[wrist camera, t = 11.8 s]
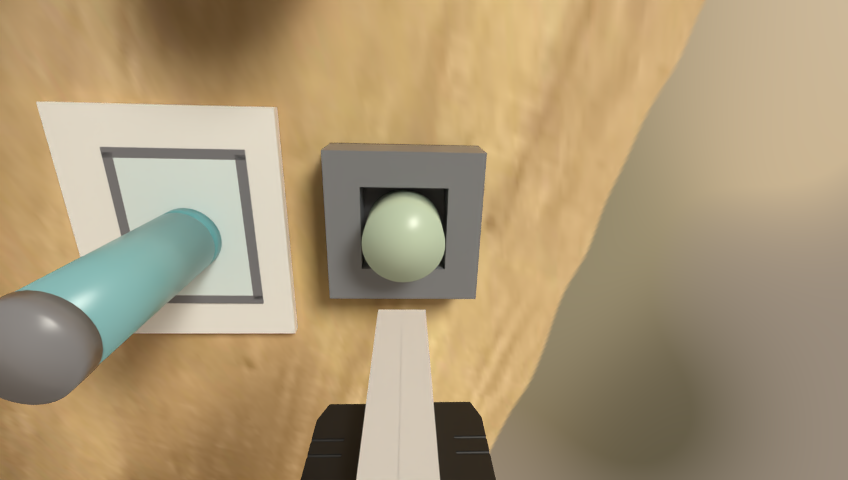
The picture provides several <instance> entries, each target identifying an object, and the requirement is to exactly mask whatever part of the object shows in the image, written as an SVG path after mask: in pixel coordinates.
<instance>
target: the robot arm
mask: <svg viewBox="0 0 848 480" xmlns="http://www.w3.org/2000/svg"><path fill="white" fill-rule="evenodd" d="M301 480H496V478H495V475H494V470H493V465H492V461H491V456H490V454H489V448H488V443H487V439H486V435H485V430H484V426H483V421H482V417H481V416H480V415H479V413H478V412H477V411H476V409H475V408H474V407H473V405H472V404H471V403H470V402H433V391H432V379H431V368H430V356H429V344H428V332H427V321H426V310H378V316H377V323H376V331H375V339H374V346H373V354H372V362H371V370H370V377H369V385H368V393H367V401H366V404H330V405H329V406H328V407H327V408H326V410H325V411H324V412H323V413H322V415H321V416H320V417H319V418H318V420H317V422H316V426H315V429H314V433H313V437H312V442H311V444H310V448H309V451H308V457H307V459H306V462H305V466H304V470H303V474H302V477H301Z"/></svg>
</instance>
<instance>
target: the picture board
mask: <svg viewBox="0 0 848 480" xmlns="http://www.w3.org/2000/svg"><path fill="white" fill-rule="evenodd" d="M36 103H37V107H38V110H39V114H40V117H41V121H42V124H43V128H44V131H45V135H46V138H47V142H48V145H49V149H50V152H51V156H52V159H53V163H54V166H55V170H56V173H57V177H58V180H59V184H60V187H61V191H62V194H63V198H64V201H65V205H66V208H67V212H68V215H69V219H70V222H71V226H72V229H73V233H74V236H75V240H76V243H77V247H78V250H79V254H80V257H82V256H84V255H86V254H88V253H90V252H92V251H94V250H96V249H97V248H99V247H101V246H103V245H105V244H107V243H109V242H111V241H113V240H115V239H117V238H119V237H120V236H122V235H124V234H126V233H128V232H130V231H132V230H134V229H136V228H138V227H140V226H141V225H143V224H145V223H147V222H149V221H151V220H153V219H155V218H157V217H159V216H161V215H163V214H164V213H166V212H168V211H170V210H173V209H177V208H189V209H193V210H196V211H199V212H201V213H203V214H204V215H206V216H207V217H209V218H210V219H211V220H212V221H213V222H214V224H215V225H216V226H217V228H218V230H219V232H220V235H221V240H222V247H221V251H220V253H219V255H218V257H217V258H216V259H215V260H214V261H213V262H212V263H211V264H210V265H209V266H208V267H206V268H205V269H204V270H203V271H202V272H201V273H200V274H199V275H198V276H196V277H195V278H194V279H193V280H192V281H191V282H190V283H189V284H188V285H187V286H185V287H184V288H183V289H182V290H181V291H180V292H179V293H178V294H177V295H175V296H174V297H173V298H172V299H171V300H170V301H169V302H168V303H167V304H165V305H164V306H163V307H162V308H161V309H160V310H159V311H158V312H157V313H155V314H154V315H153V316H152V317H151V318H150V319H149V320H148V321H147V322H146V323H144V324H143V325H142V326H141V327H140V328H139V329H138V330H137V331H136V332H134V333H296V331H297V329H298V324H297V314H296V303H295V292H294V282H293V271H292V260H291V250H290V239H289V228H288V218H287V207H286V197H285V186H284V175H283V165H282V154H281V143H280V133H279V122H278V111H277V107H253V106H212V105H171V104H130V103H89V102H48V101H45V102H36Z"/></svg>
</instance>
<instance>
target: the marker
mask: <svg viewBox="0 0 848 480" xmlns="http://www.w3.org/2000/svg"><path fill="white" fill-rule="evenodd" d="M221 247H222V240H221V235H220V232H219V230H218V228H217V226H216V225H215V224H214V222H213V221H212V220H211V219H210V218H209V217H207V216H206V215H204V214H203V213H201V212H199V211H196V210H193V209H189V208H177V209H173V210H170V211H168V212H166V213H164V214H163V215H161V216H159V217H157V218H155V219H153V220H151V221H149V222H147V223H145V224H143V225H141V226H140V227H138V228H136V229H134V230H132V231H130V232H128V233H126V234H124V235H122V236H120V237H119V238H117V239H115V240H113V241H111V242H109V243H107V244H105V245H103V246H101V247H99V248H97V249H96V250H94V251H92V252H90V253H88V254H86V255H84V256H82V257H80V258H78V259H76V260H74V261H73V262H71V263H69V264H67V265H65V266H63V267H61V268H59V269H57V270H55V271H53V272H52V273H50V274H48V275H46V276H44V277H42V278H40V279H38V280H36V281H34V282H32V283H30V284H29V285H27V286H25V287H23V288H21V289H19V290H17V291H15V292H12V293H9V294H6V295H4V296H2V297H1V298H0V398H2V399H5V400H8V401H11V402H16V403H20V404H29V405H39V404H47V403H52V402H55V401H57V400H60V399H62V398H63V397H65V396H67V395H68V394H69V393H70V392H71V391H72V390H73V389H74V388H76V387H77V386H78V385H79V384H80V383H81V382H82V381H83V380H84V379H85V378H87V377H88V376H89V375H90V374H91V373H92V372H93V371H94V370H95V369H96V368H97V367H98V365H99V364H100V363H101V362H102V361H103V360H105V359H106V358H107V357H108V356H109V355H110V354H111V353H112V352H113V351H114V350H116V349H117V348H118V347H119V346H120V345H121V344H122V343H123V342H124V341H126V340H127V339H128V338H129V337H130V336H131V335H132V334H133V333H134V332H136V331H137V330H138V329H139V328H140V327H141V326H142V325H143V324H144V323H146V322H147V321H148V320H149V319H150V318H151V317H152V316H153V315H154V314H155V313H157V312H158V311H159V310H160V309H161V308H162V307H163V306H164V305H165V304H167V303H168V302H169V301H170V300H171V299H172V298H173V297H174V296H175V295H177V294H178V293H179V292H180V291H181V290H182V289H183V288H184V287H185V286H187V285H188V284H189V283H190V282H191V281H192V280H193V279H194V278H195V277H196V276H198V275H199V274H200V273H201V272H202V271H203V270H204V269H205V268H206V267H208V266H209V265H210V264H211V263H212V262H213V261H214V260H215V259H216V258H217V257H218V255H219V253H220V251H221Z"/></svg>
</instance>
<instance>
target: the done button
mask: <svg viewBox="0 0 848 480" xmlns="http://www.w3.org/2000/svg"><path fill="white" fill-rule="evenodd" d="M362 251H363V255H364V257H365V260H366V262H367V263H368V265H369V266H370V267H371V268H372V270H373V271H374V272H376V273H377V274H378V275H380V276H381V277H383V278H385V279H388V280H391V281H395V282H412V281H416V280H419V279H422V278H424V277H425V276H427V275H429V274H430V273H431V272H432V271H433V270H434V269H435V268H436V267H437V266H438V265H439V263H440V261H441V260H442V257H443V255H444V251H445V236H444V232H443V228H442V224H441V220H440V216H439V213H438V211H437V209H436V207H435V206H434V204H433V203H432V202H431V201H430V200H429V199H428V198H427V197H425V196H424V195H422V194H420V193H418V192H415V191H411V190H396V191H392V192H389V193H387V194H385V195H383V196H382V197H381V198H379V199H378V200H377V201H376V202H375V203H374V205H373V206H372V208H371V210H370V212H369V215H368V218H367V222H366V225H365V228H364V232H363V235H362Z"/></svg>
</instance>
